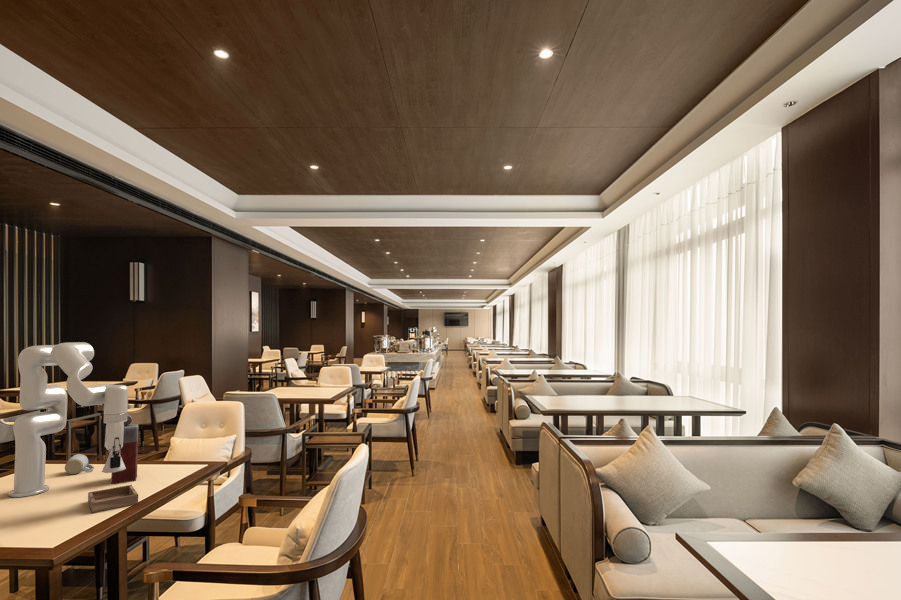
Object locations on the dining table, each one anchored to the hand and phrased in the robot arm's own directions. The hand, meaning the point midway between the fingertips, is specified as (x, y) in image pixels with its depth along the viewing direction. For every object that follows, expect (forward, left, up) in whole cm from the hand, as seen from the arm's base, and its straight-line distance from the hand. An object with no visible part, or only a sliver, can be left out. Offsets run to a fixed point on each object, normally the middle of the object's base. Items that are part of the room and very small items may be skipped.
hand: (114, 465), depth 187 cm
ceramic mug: (-60, -6, -14) cm, 62 cm away
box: (0, 0, -14) cm, 14 cm away
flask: (0, 0, -2) cm, 2 cm away
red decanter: (-33, +8, -14) cm, 37 cm away
